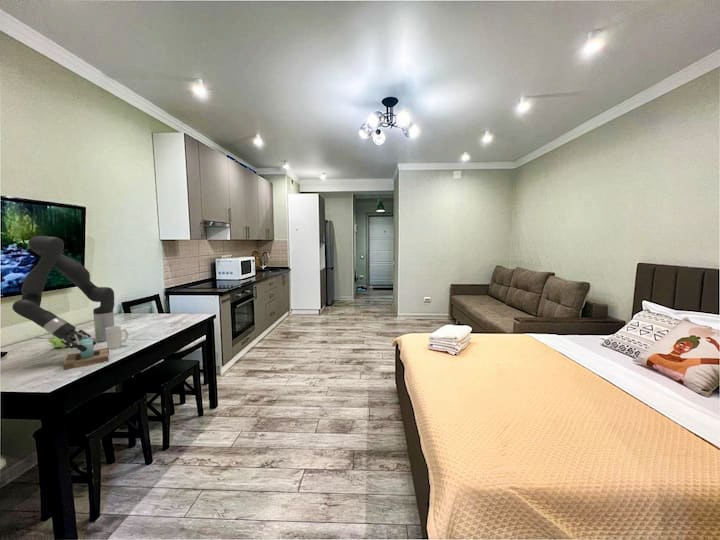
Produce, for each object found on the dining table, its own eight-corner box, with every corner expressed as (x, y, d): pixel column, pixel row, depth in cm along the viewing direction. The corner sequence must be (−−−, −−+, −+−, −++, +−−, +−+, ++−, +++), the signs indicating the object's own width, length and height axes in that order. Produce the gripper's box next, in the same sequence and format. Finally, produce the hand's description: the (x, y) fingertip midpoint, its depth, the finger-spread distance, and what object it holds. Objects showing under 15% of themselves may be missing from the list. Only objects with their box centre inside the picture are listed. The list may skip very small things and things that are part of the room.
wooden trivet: (68, 359, 147) (67, 354, 147) (108, 351, 157) (108, 347, 157) (63, 369, 135) (63, 365, 135) (108, 361, 145) (107, 356, 145)
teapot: (75, 347, 163) (74, 333, 162) (47, 351, 156) (45, 336, 156) (81, 341, 172) (79, 328, 171) (54, 345, 166) (53, 331, 165)
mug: (104, 350, 159) (103, 329, 158) (109, 346, 165) (108, 326, 164) (126, 347, 163) (125, 327, 162) (130, 344, 169) (129, 324, 168)
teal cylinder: (81, 359, 146) (80, 339, 145) (94, 357, 149) (92, 337, 148) (80, 363, 143) (79, 342, 141) (93, 360, 146) (92, 340, 145)
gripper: (56, 326, 135) (88, 346, 140) (74, 318, 148) (103, 337, 153) (43, 338, 133) (75, 358, 138) (62, 329, 147) (91, 348, 152)
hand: (90, 347), depth 146 cm, fingers open, 8 cm apart
